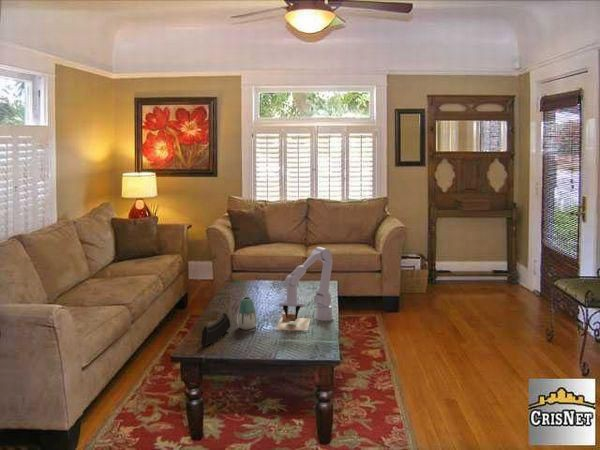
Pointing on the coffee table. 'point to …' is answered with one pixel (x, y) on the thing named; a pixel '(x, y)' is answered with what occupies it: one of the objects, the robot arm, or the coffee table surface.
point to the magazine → (215, 330)
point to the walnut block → (291, 316)
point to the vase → (246, 314)
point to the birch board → (294, 324)
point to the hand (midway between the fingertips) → (291, 318)
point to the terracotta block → (284, 317)
